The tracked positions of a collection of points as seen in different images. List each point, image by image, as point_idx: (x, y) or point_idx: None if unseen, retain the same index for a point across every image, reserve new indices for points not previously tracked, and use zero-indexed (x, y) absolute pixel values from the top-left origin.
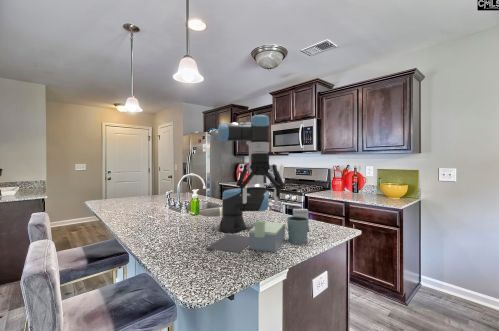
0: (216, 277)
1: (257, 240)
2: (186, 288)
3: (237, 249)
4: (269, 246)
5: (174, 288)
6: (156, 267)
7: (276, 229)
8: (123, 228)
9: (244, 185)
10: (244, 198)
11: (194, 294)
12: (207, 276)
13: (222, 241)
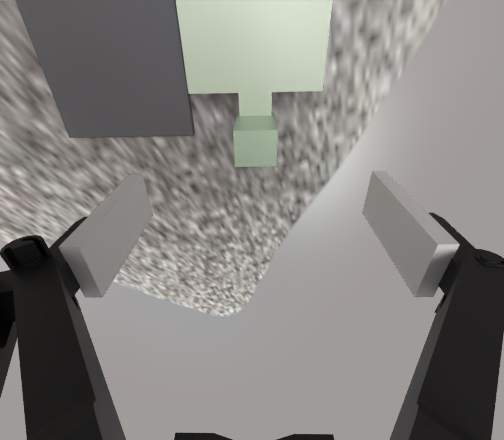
0: (214, 258)
1: None
2: (192, 296)
3: (171, 111)
4: None
5: (176, 300)
6: None
7: (316, 15)
8: None
9: (80, 311)
10: (140, 234)
11: (215, 303)
12: (196, 260)
13: (56, 39)
